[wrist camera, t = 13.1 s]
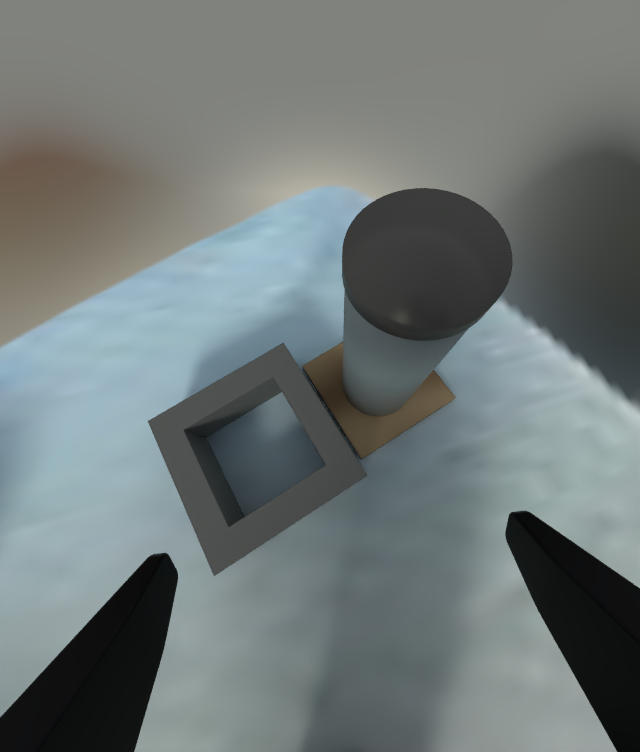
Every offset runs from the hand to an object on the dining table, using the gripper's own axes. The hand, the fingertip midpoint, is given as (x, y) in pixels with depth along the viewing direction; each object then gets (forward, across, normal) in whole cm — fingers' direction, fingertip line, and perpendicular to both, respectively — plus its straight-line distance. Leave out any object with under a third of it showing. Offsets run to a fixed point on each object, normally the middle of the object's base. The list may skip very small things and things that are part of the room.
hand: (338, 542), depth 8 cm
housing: (+12, +5, +7) cm, 15 cm away
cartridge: (+15, -4, +4) cm, 16 cm away
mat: (+15, -4, +4) cm, 16 cm away
